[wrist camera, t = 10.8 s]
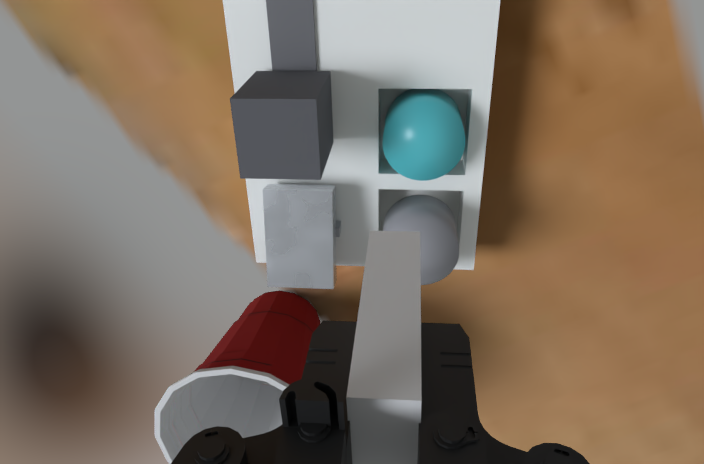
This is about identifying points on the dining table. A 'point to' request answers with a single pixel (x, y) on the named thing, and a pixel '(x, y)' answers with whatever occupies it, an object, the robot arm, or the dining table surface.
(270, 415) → the plastic cup
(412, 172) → the teal button
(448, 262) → the grey button
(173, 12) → the dining table surface
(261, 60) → the panel
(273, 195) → the white block with nub
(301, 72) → the slider knob
